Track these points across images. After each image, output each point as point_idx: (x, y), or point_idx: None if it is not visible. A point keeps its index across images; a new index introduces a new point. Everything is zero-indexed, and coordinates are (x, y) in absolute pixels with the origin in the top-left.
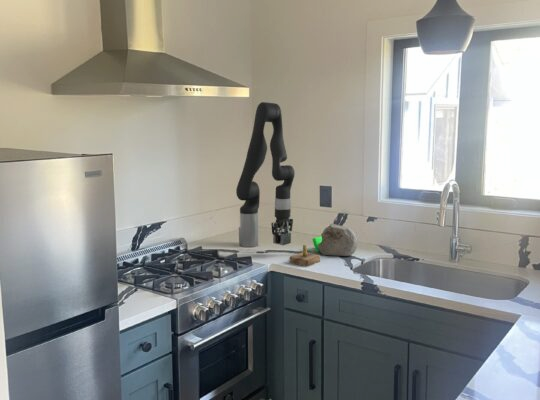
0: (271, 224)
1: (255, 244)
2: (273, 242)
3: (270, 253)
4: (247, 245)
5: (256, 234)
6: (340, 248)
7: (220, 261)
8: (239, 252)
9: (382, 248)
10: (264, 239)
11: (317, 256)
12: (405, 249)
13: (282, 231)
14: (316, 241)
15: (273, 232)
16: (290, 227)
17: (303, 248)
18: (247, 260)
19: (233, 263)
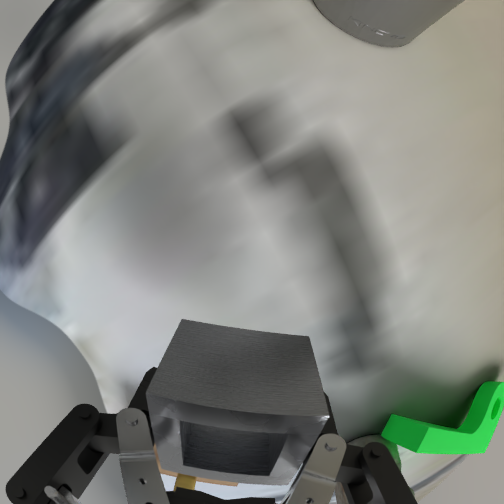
0: (10, 479)
1: (367, 34)
2: (179, 326)
3: (254, 222)
4: (319, 1)
5: (409, 5)
6: (338, 499)
7: (11, 104)
8: (174, 31)
9: (441, 469)
10: (490, 57)
11: (217, 483)
12: (431, 487)
13: (302, 436)
14: (403, 446)
15: (77, 428)
16: (350, 499)
17: (174, 486)
18: (53, 194)
19: (6, 174)
